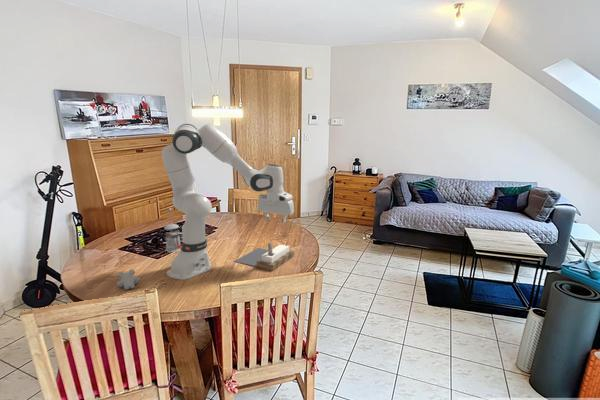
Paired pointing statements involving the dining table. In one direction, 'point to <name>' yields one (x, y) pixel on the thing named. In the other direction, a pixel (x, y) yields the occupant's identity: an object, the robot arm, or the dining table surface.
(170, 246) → the french press
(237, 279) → the dining table surface
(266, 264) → the stand
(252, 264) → the mat
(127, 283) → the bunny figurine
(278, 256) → the link
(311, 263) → the dining table surface
